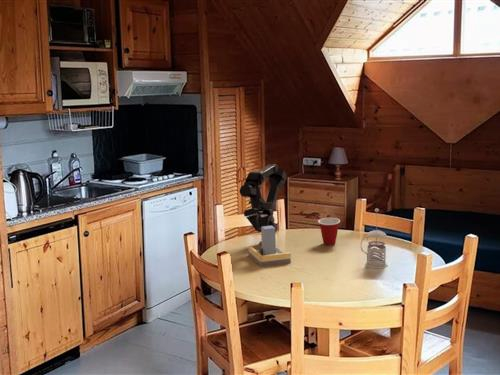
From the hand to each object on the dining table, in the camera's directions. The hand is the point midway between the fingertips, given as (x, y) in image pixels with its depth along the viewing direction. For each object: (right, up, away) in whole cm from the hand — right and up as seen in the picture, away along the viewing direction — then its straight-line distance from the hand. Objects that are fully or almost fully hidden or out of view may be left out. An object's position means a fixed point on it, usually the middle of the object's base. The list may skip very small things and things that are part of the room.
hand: (262, 230), depth 274 cm
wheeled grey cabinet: (+3, -10, -8) cm, 13 cm away
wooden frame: (+3, -12, -6) cm, 14 cm away
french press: (+48, -14, -19) cm, 53 cm away
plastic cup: (+33, -8, +16) cm, 38 cm away
